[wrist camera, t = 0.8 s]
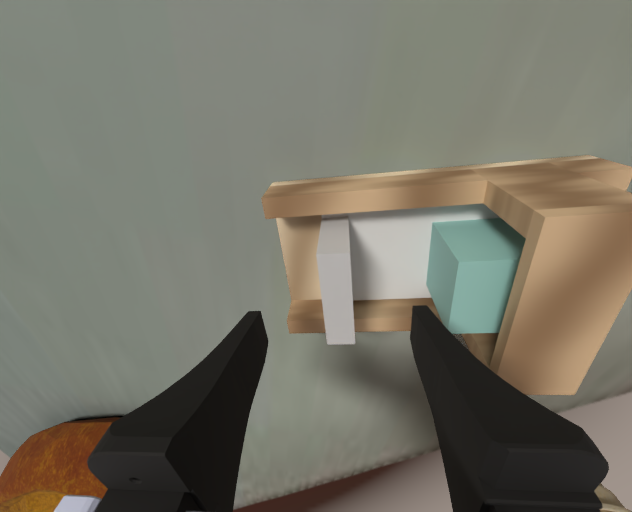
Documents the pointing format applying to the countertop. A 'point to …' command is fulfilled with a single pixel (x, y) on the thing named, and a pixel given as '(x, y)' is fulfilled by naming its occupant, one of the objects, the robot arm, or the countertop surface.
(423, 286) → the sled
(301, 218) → the wooden frame
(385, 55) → the countertop surface
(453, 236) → the block
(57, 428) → the bread
